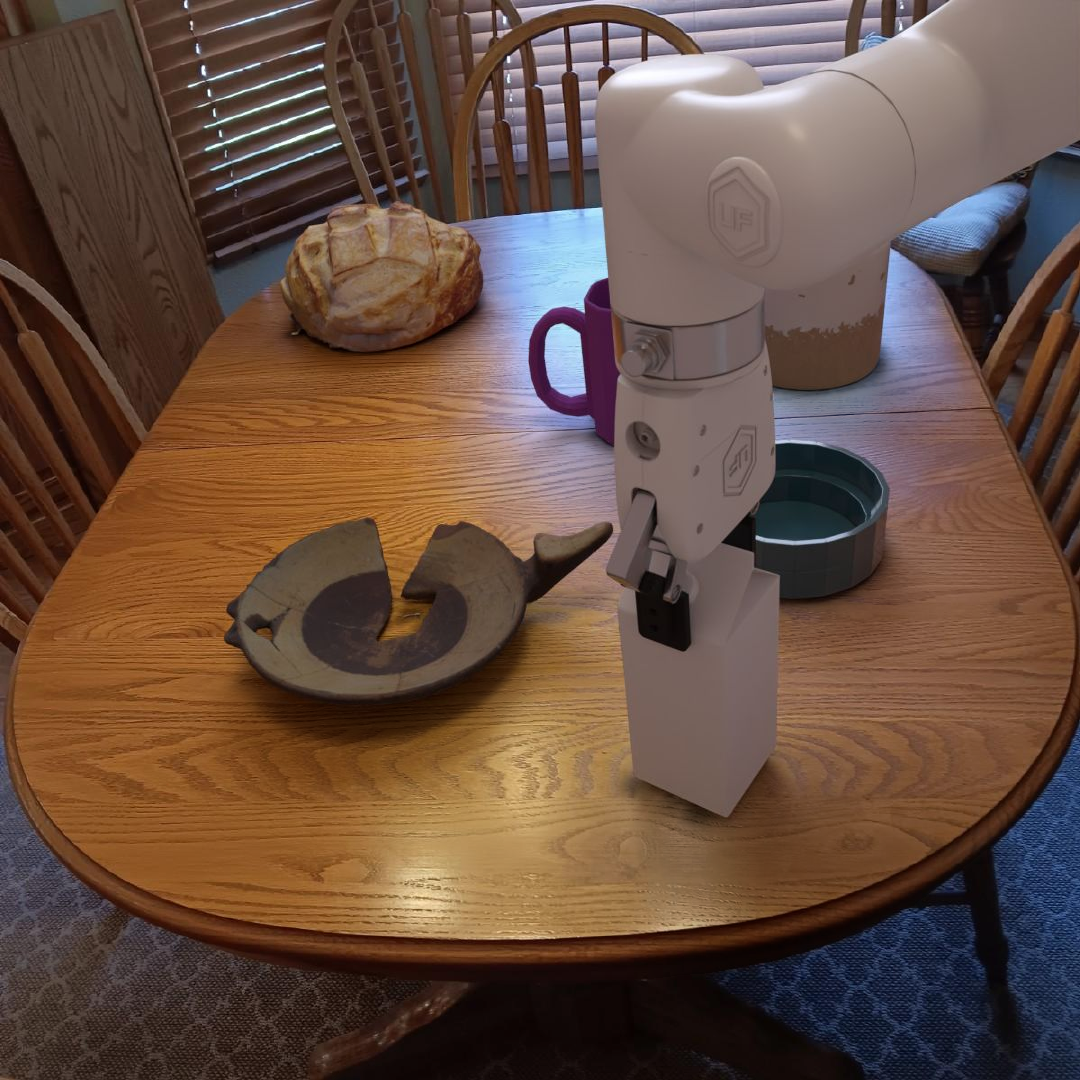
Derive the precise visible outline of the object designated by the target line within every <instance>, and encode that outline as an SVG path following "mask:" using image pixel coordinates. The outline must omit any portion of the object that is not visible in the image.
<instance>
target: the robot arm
mask: <svg viewBox="0 0 1080 1080" xmlns="http://www.w3.org/2000/svg"><path fill="white" fill-rule="evenodd" d="M594 126H595V127H594V129H595V140H596V150H597V161H598V162H597V163H598V174H599V175H598V176H599V187H600V197H601V208H602V220H603V232H604V233H603V234H604V245H605V256H606V268H607V278H608V281H609V292H610V305H611V317H612V329H613V341H614V351H615V363H616V367H617V369H618V370H619V372H620V373H621V374H620V375H619V377H618V380H617V394H616V407H615V435H614V445H613V447H614V448H613V451H614V453H613V455H614V484H615V485H614V486H615V498H616V499H615V500H616V509H617V516H618V522H619V527H620V531H619V534H618V537H617V539H616V542H615V544H614V546H613V549H612V552H611V554H610V557H609V560H608V562H607V564H606V566H605V567H606V568H605V572H606V573H605V574H606V576H607V577H609V578H610V579H612V580H613V581H615V582H616V583H618V584H619V585H620V586H621V587H623V588H624V587H626V588H629V589H631V590H634V591H635V597H636V609H637V621H638V631H639V634H640V635H641V636H642V637H644V638H646V639H649V640H652V641H654V642H657V643H660V644H663V645H665V646H668V647H671V648H673V649H676V650H679V651H682V652H685V651H686V650H687V649H688V648H689V646H690V645H691V629H690V608H689V594H688V593H686V592H684V591H682V586H683V581H684V577H685V572H686V568H687V563H688V562H689V563H694V562H697V561H700V560H701V559H703V558H705V557H706V556H707V555H709V554H710V553H711V552H712V551H713V550H714V549H715V548H716V547H717V546H718V545H719V544H720V543H723V544H727V545H730V546H733V547H737V548H740V549H743V550H747V551H750V552H753V553H754V568H756V518H754V517H750V516H749V514H751V515H754V514H755V513H756V512H757V510H758V507H759V503H760V498H761V497H762V496H763V495H764V494H765V492H766V491H767V490H768V488H769V487H770V485H771V483H772V481H773V478H774V476H775V441H776V423H775V405H774V392H773V391H774V389H773V385H772V378H771V370H770V362H769V356H768V350H767V345H766V341H765V288H767V289H771V290H786V291H787V290H796V289H802V288H805V287H808V286H812V285H815V284H817V283H820V282H822V281H824V280H826V279H828V278H830V277H832V276H833V275H835V274H837V273H838V272H840V271H842V270H844V269H845V268H847V267H849V266H850V265H852V264H854V263H856V262H857V261H859V260H861V259H862V258H864V257H866V256H868V255H869V254H871V253H873V252H874V251H876V250H878V249H879V248H880V247H881V246H883V245H884V244H886V243H888V242H889V241H891V242H892V241H893V240H894V239H897V238H899V237H900V236H901V235H903V234H905V233H907V232H908V231H911V230H913V228H915V227H917V226H918V225H920V224H922V223H923V222H926V221H928V220H929V219H931V218H933V217H935V216H937V215H939V214H941V213H942V212H944V211H946V210H947V209H949V208H951V207H953V206H954V205H957V204H958V203H960V202H961V201H963V200H965V199H967V198H969V197H971V196H973V195H975V194H976V193H978V192H981V191H982V190H984V189H985V188H987V187H989V186H992V185H994V184H996V183H998V182H999V181H1001V180H1003V179H1005V178H1007V177H1009V176H1011V175H1013V174H1015V173H1017V172H1019V171H1021V170H1023V169H1025V168H1027V167H1029V166H1031V165H1033V164H1035V163H1037V162H1038V161H1041V160H1043V159H1045V158H1046V157H1048V156H1051V155H1053V154H1054V153H1056V152H1058V151H1061V150H1062V149H1065V148H1066V147H1069V146H1071V145H1073V144H1075V143H1076V142H1079V141H1080V0H948V1H947V2H945V3H944V4H942V5H941V6H940V7H938V8H937V9H935V10H934V11H932V12H930V14H927V15H926V16H924V17H923V18H922V19H920V20H918V22H915V23H914V24H913V25H911V26H909V27H908V28H906V29H905V30H903V31H902V32H900V33H898V34H896V35H894V36H893V37H891V38H889V39H887V40H885V41H883V42H882V43H879V44H877V45H874V46H871V47H869V48H866V49H863V50H861V51H858V52H856V53H853V54H850V55H848V56H846V57H844V58H841V59H838V60H836V61H834V62H831V63H828V64H827V65H823V66H822V67H820V68H817V69H815V70H812V71H810V72H808V73H806V74H804V75H802V76H799V77H797V78H794V79H790V80H787V81H784V82H781V83H778V84H775V85H772V86H768V87H766V88H765V86H764V83H763V80H762V78H761V76H760V74H759V73H758V71H757V70H756V68H754V67H753V66H751V65H750V64H749V63H747V62H746V61H745V60H743V59H740V58H737V57H733V56H728V55H723V54H713V53H711V54H710V53H690V54H679V55H670V56H663V57H658V58H653V59H648V60H644V61H641V62H637V63H635V64H632V65H629V66H627V67H624V68H623V69H621V70H619V71H616V72H615V73H613V74H611V76H609V78H608V79H607V80H606V81H604V83H603V84H602V86H601V88H600V90H599V92H598V94H597V97H596V101H595V109H594ZM657 525H658V527H659V529H660V531H661V533H662V536H663V537H659V536H656V535H654V531H655V529H656V527H657ZM653 550H654V551H657V552H660V553H663V554H667V555H670V560H669V565H668V570H667V574H666V578H665V577H663V576H661V575H658V574H656V573H653V572H650V571H649V566H650V561H651V557H652V552H653Z"/></svg>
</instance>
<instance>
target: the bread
mask: <svg viewBox="0 0 1080 1080" xmlns="http://www.w3.org/2000/svg"><path fill="white" fill-rule="evenodd" d="M481 252H482V248H481V246H480V244H479V243H478V242H477V240H476V238H475V237H474V236H473V235H472V234H471V232H469V231H467V230H466V229H465V228H463V227H460V226H451V225H449V224H447V223H445V222H444V221H443V222H442V221H440V220H437V219H434V218H432V217H430V216H428V213H427V211H426V210H424V209H420V208H417V207H415V206H414V205H412V204H410V203H407V202H405V201H403V200H399V199H395V200H394V202H393V203H391V204H390V206H389V207H386V208H381V207H380V206H378V205H376V204H374V203H359V204H344V205H337V206H335V207H333V208H332V209H331V210H330V213H329V214H328V215H327V218H326V221H325V222H324V223H320V224H314V225H309V226H308V227H307V228H306V229H304V232H303V233H302V234H300V235H299V236H298V238H296V239H295V243H294V246H293V248H292V251H291V253H290V254H289V256H288V258H287V260H286V264H285V275H286V276H285V277H284V278H282V279H281V280H280V283H279V286H280V293H281V298H282V300H283V302H284V304H285V305H286V307H287V309H288V310H289V311H290V318H291V320H292V321H293V322H294V324H295V326H296V329H297V331H296V332H291V334H290V335H291V336H292V335H298V334H299V333H300V332H301V330H302V331H305V332H306V333H305V334H306V335H307V336H309V337H311V338H314V339H317V341H322V342H323V343H328V347H329V348H334V349H338V348H342V349H344V350H346V351H348V352H361V353H368V352H370V353H371V352H380V351H388V350H393V349H397V348H402V347H405V346H409V345H412V344H415V343H418V342H421V341H423V340H425V339H427V338H430V337H431V336H433V335H435V334H437V333H438V332H440V331H441V330H443V329H444V328H446V327H448V326H451V325H453V324H455V323H456V322H457V321H458V320H460V319H461V318H463V317H464V316H466V315H467V314H468V313H469V312H470V311H472V310H473V308H474V307H475V306H476V304H477V303H478V301H479V300H480V297H481V294H482V292H483V289H484V273H483V270H482V265H481V262H480V256H481Z"/></svg>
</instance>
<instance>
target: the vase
mask: <svg viewBox="0 0 1080 1080" xmlns="http://www.w3.org/2000/svg"><path fill="white" fill-rule="evenodd" d="M891 244H892V240H891V241H889V242H888V243H886V244H884V245H883V246H881V247H880V248H879V249H878V250H876V251H874V252H873V253H871V254H869V255H868V256H866V257H864V258H862V259H861V260H859V261H857V262H856V263H854V264H852V265H850V266H849V267H847V268H845V269H844V270H842V271H840V272H838V273H837V274H835V275H833V276H832V277H830V278H828V279H826V280H824V281H822V282H820V283H817V284H815V285H812V286H808V287H805V288H802V289H796V290H787V291H786V290H771V289H767V288H765V341H766V345H767V350H768V356H769V362H770V370H771V378H772V387H773V386H774V387H778V388H782V389H788V390H798V391H814V390H815V391H816V390H826V389H833V388H838V387H843V386H846V385H850V384H852V383H855V382H858V381H860V380H862V379H864V378H865V377H866V376H868V375H869V374H871V373H872V372H873V371H874V369H875V368H876V367H877V366H878V363H879V360H880V355H881V348H882V340H883V339H882V338H883V329H884V317H885V308H886V307H885V306H886V298H887V297H886V296H887V289H888V288H887V287H888V278H889V267H890V256H891V246H892V245H891Z"/></svg>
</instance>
